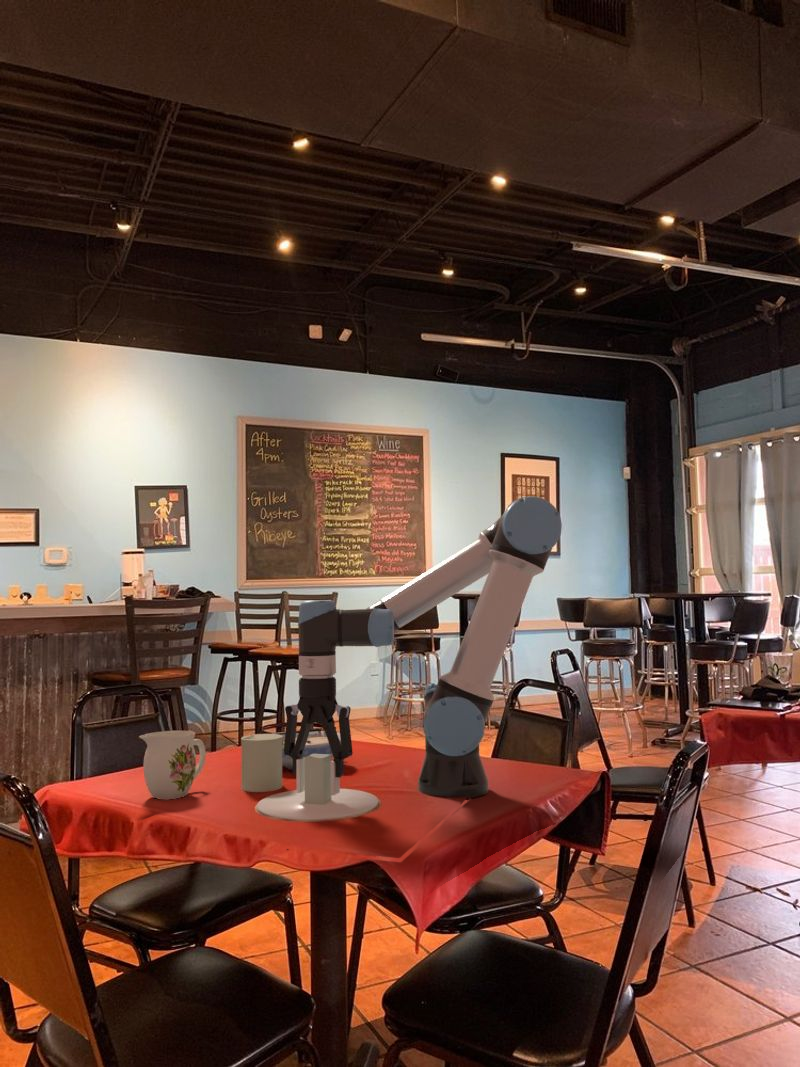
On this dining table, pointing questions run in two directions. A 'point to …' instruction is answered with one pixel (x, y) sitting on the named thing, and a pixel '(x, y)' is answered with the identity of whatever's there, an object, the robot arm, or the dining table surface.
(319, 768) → the lid
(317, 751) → the ramen bowl
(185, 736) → the pitcher
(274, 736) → the can
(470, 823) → the dining table surface
